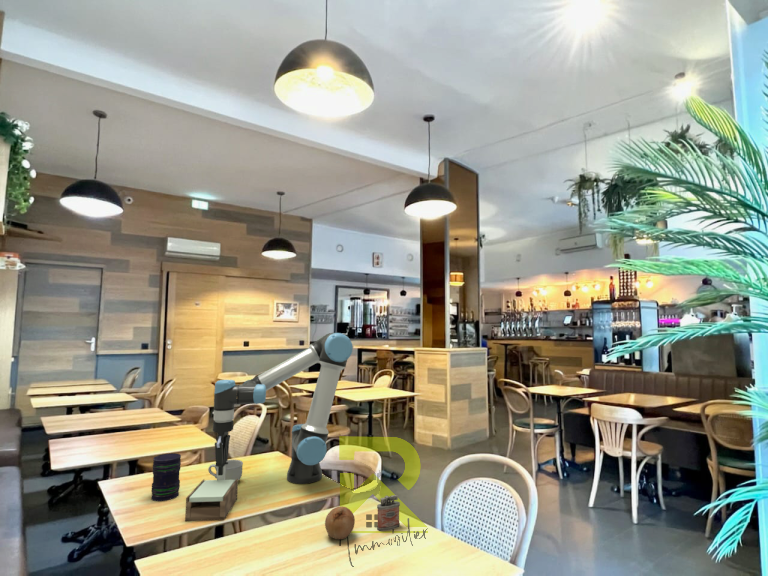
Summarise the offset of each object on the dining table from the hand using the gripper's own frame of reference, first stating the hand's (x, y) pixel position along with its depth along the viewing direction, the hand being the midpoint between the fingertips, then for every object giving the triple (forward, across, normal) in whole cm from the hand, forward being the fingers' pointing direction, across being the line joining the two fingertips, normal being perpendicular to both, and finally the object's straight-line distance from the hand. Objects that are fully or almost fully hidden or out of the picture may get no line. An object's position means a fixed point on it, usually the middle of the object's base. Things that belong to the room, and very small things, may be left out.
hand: (220, 482), depth 168 cm
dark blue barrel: (+6, -4, -22) cm, 23 cm away
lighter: (+6, +29, +62) cm, 69 cm away
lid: (0, +10, 0) cm, 10 cm away
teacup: (+6, -18, -3) cm, 19 cm away
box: (+6, +10, 0) cm, 12 cm away
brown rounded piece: (+6, +34, +46) cm, 58 cm away
